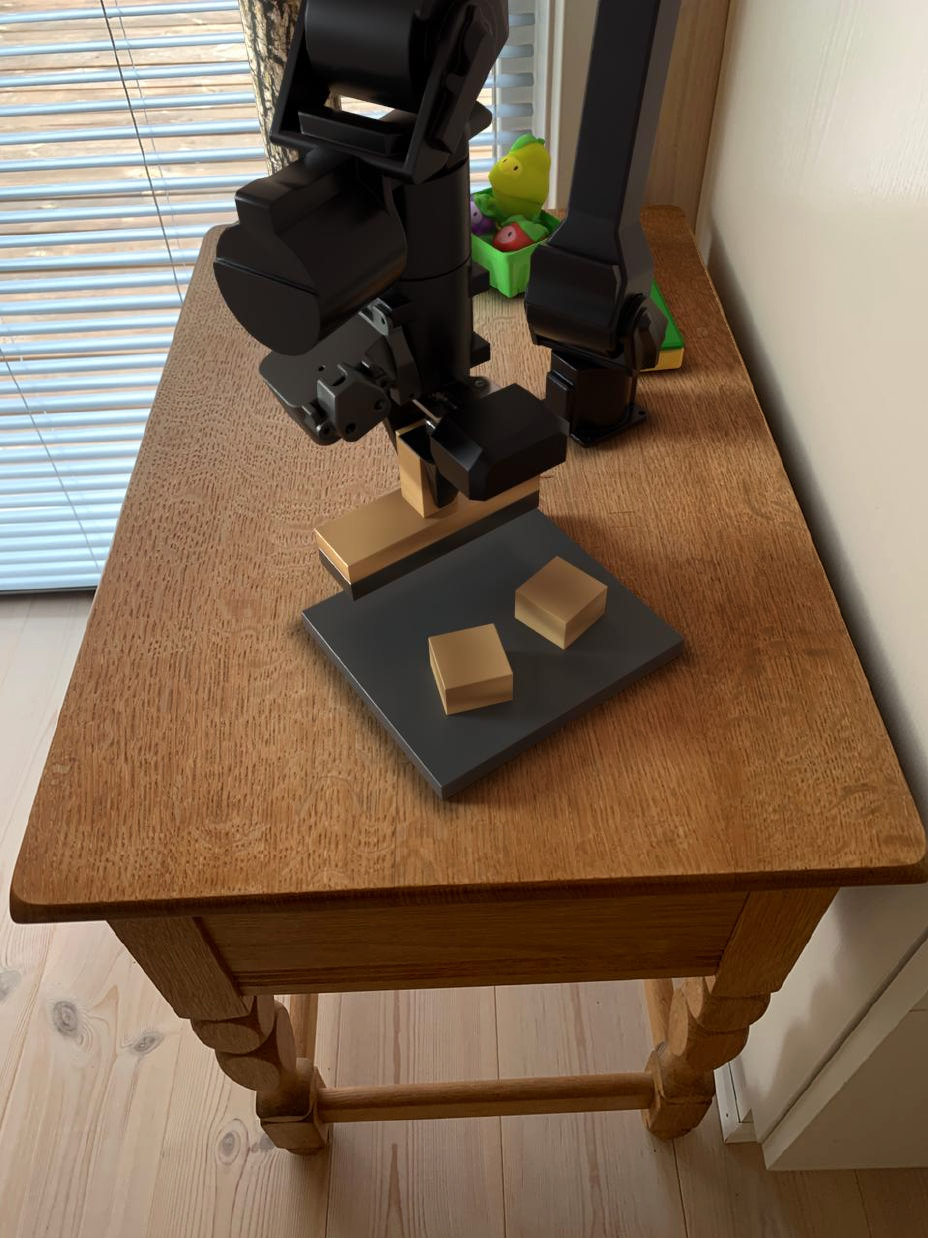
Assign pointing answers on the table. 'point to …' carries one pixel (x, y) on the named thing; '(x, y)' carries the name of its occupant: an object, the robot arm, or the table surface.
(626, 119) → the robot arm
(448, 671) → the cork piece
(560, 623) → the cork piece
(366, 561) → the brush
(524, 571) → the serving board
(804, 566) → the table surface
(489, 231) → the fruit basket
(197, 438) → the table surface
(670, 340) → the dish sponge
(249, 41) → the paper tube
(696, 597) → the table surface
